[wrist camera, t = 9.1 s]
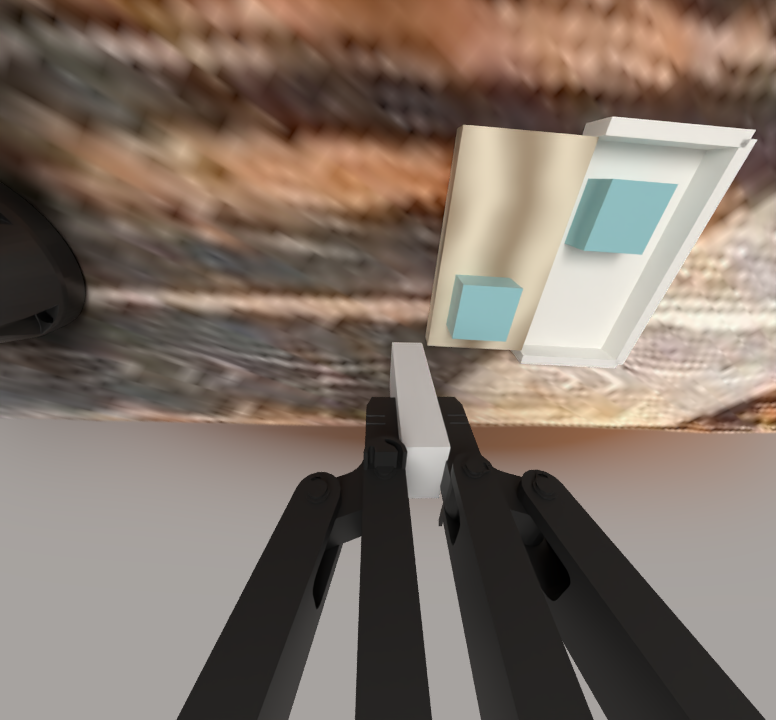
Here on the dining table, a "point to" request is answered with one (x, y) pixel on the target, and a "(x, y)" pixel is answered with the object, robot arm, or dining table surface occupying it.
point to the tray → (632, 271)
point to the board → (505, 218)
